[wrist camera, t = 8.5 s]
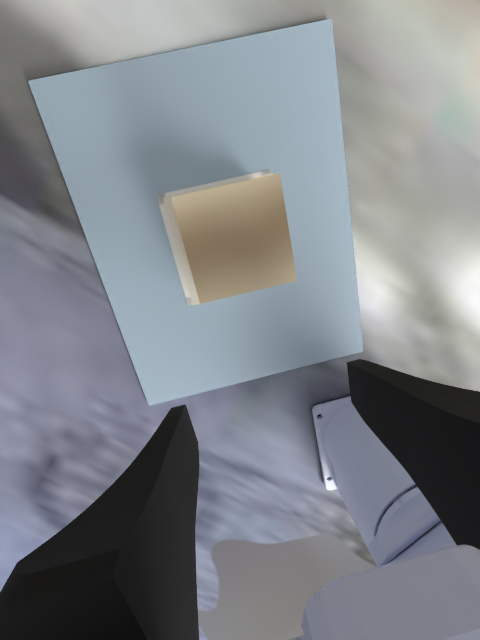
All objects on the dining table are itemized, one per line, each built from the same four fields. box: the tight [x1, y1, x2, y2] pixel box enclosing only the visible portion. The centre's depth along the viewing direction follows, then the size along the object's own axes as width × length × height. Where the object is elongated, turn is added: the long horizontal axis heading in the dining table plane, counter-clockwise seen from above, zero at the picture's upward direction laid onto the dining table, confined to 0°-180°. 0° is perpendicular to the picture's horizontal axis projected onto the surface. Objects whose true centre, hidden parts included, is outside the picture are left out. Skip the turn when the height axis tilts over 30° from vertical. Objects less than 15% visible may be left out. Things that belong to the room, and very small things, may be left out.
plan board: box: [28, 19, 363, 406], centre depth 20 cm, size 22×18×1 cm
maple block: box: [171, 173, 297, 304], centre depth 14 cm, size 4×4×4 cm
